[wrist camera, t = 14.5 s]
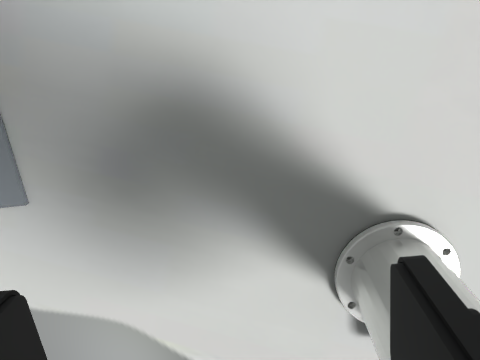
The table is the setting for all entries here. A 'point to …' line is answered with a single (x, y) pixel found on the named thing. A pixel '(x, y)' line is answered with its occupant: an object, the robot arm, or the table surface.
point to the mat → (9, 175)
